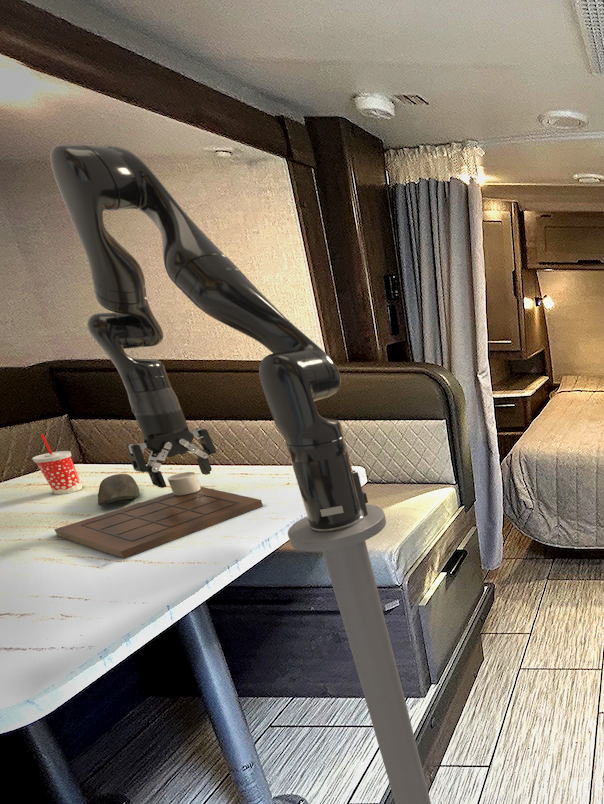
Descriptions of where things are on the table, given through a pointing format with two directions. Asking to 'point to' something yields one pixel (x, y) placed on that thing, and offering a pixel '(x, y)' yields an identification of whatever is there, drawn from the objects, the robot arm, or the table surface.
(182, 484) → the game stone
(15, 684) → the table surface
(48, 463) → the beverage cup
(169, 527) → the game board
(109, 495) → the decorative stone
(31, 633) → the table surface
